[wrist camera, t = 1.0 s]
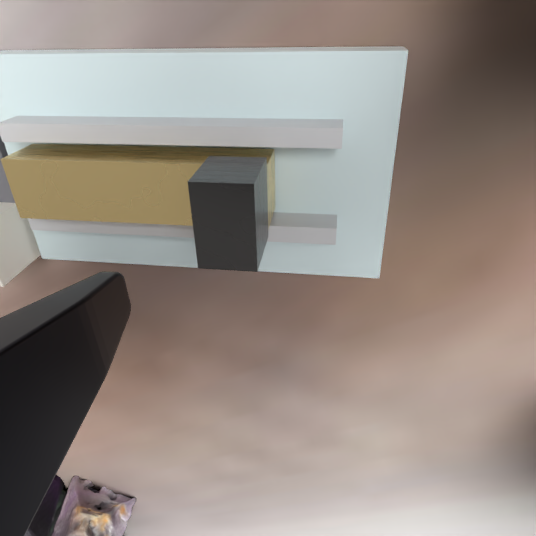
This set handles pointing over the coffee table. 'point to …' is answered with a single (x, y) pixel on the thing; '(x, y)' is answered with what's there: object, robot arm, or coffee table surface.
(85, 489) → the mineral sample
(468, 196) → the coffee table surface
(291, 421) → the coffee table surface
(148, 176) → the bolt
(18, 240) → the door and jamb
